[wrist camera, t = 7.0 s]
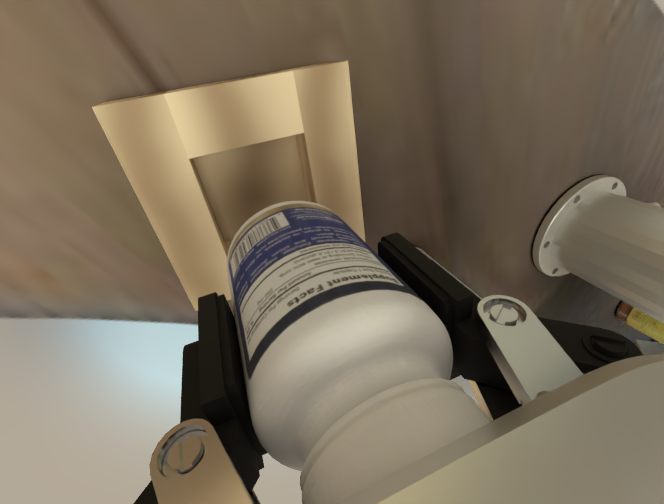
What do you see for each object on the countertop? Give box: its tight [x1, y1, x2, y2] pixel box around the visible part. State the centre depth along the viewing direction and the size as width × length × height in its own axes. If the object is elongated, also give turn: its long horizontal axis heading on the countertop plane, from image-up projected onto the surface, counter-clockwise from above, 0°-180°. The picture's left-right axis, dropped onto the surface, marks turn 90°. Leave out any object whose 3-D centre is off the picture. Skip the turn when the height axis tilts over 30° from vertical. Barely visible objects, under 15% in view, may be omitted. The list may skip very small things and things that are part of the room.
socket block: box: [92, 61, 365, 311], centre depth 21 cm, size 13×13×3 cm
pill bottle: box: [227, 201, 491, 504], centre depth 10 cm, size 5×5×10 cm
